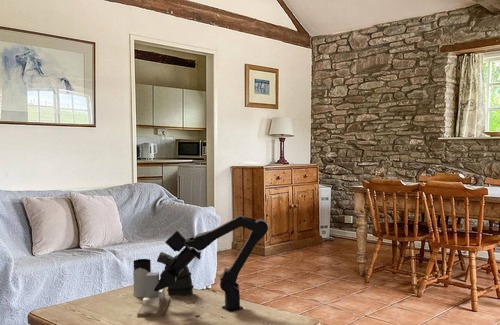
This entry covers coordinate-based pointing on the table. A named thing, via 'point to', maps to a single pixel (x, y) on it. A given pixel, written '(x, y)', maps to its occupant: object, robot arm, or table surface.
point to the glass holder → (141, 276)
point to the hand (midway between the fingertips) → (156, 287)
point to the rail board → (160, 312)
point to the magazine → (182, 284)
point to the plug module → (152, 285)
